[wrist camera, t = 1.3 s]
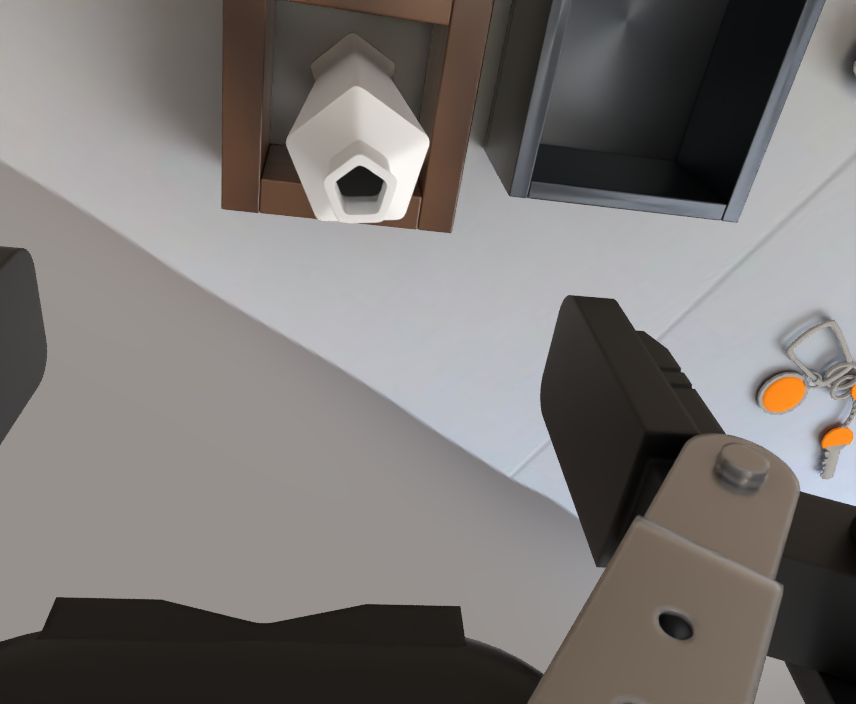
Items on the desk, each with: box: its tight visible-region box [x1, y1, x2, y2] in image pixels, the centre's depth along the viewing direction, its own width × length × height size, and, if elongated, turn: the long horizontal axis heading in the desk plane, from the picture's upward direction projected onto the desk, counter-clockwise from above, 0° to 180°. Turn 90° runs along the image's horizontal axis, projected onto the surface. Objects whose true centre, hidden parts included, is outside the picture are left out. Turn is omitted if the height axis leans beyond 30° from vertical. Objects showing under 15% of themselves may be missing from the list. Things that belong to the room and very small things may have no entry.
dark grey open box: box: [484, 0, 826, 222], centre depth 31 cm, size 11×14×7 cm
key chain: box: [757, 320, 856, 479], centre depth 47 cm, size 13×7×1 cm, turn 40°
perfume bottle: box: [286, 33, 430, 223], centre depth 28 cm, size 5×4×15 cm
